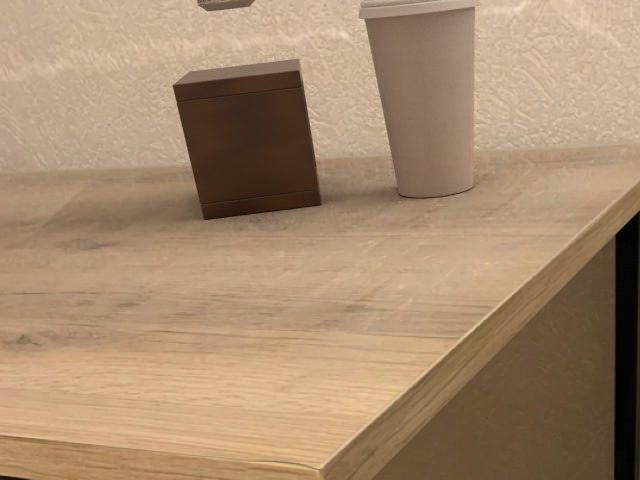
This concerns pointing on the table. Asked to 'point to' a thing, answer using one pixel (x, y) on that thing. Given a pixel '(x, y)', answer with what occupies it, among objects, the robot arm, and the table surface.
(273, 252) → the table surface
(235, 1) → the beer can
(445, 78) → the coffee cup
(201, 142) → the wooden lidded box
